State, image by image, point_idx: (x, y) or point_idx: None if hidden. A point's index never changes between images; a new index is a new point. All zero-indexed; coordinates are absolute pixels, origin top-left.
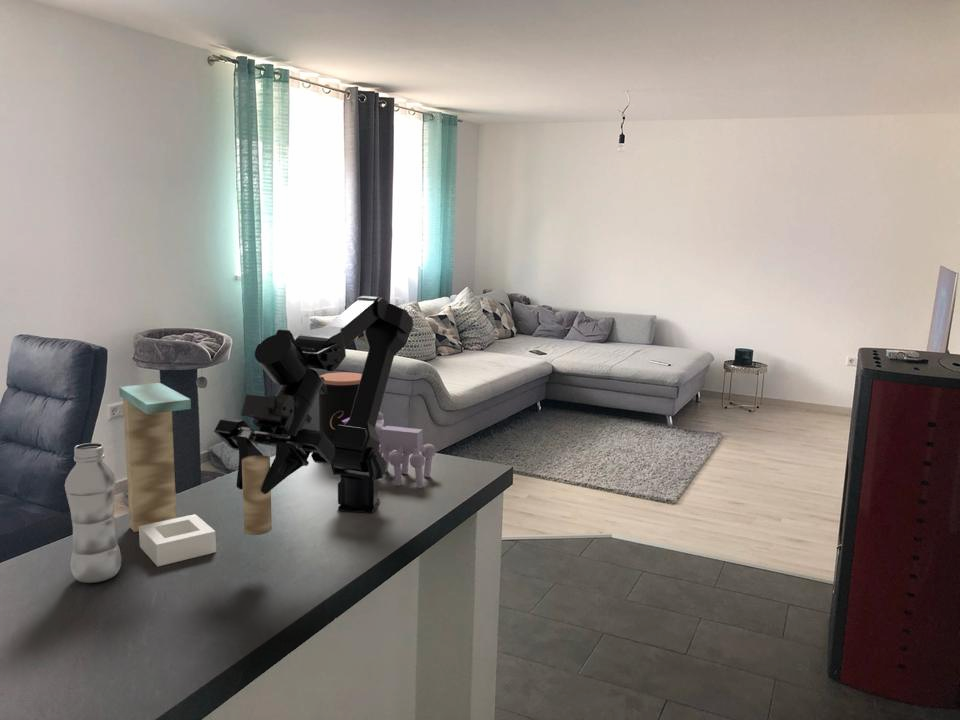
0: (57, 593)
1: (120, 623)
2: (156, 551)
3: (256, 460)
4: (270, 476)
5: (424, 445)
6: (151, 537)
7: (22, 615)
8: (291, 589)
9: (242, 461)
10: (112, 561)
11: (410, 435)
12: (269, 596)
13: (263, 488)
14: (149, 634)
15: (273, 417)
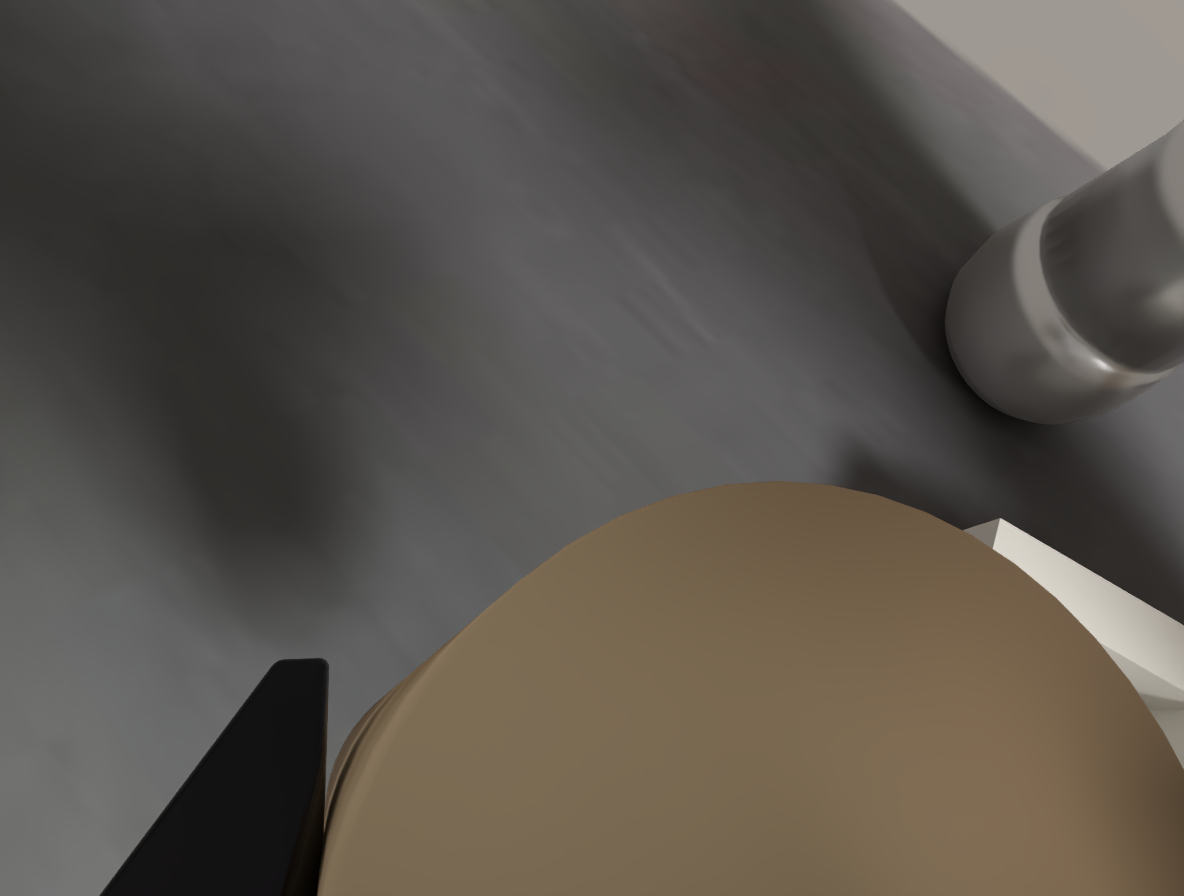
0: (992, 211)
1: (616, 94)
2: (974, 529)
3: (728, 862)
4: (151, 876)
5: None
6: (1098, 583)
7: (933, 67)
8: (31, 655)
9: (992, 556)
10: (991, 296)
11: None
12: (128, 514)
13: (270, 674)
14: (448, 52)
15: None
